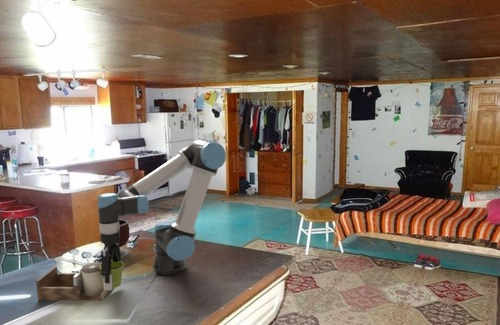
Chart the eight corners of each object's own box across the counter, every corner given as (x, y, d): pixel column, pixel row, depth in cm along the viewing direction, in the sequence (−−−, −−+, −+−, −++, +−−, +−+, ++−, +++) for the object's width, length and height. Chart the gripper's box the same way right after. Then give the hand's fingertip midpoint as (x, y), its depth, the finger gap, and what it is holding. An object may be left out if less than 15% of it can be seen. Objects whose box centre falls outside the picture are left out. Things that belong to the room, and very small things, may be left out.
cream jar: (107, 287, 169) (105, 262, 168) (99, 296, 161) (98, 270, 160) (88, 286, 170) (86, 262, 168) (79, 296, 162) (77, 270, 160)
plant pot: (117, 291, 159) (116, 271, 157) (95, 289, 160) (95, 269, 159) (128, 281, 168) (128, 262, 167) (108, 279, 170) (107, 260, 168)
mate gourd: (135, 251, 213) (133, 215, 210) (119, 260, 200) (117, 222, 197) (111, 248, 218) (109, 212, 215) (94, 257, 205) (91, 219, 202)
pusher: (90, 285, 171) (88, 263, 169) (77, 297, 159) (75, 274, 158) (81, 284, 171) (80, 263, 169) (68, 297, 160) (66, 274, 158)
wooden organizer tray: (115, 286, 172) (114, 267, 170) (102, 302, 158) (100, 281, 157) (56, 286, 173) (54, 266, 172) (38, 302, 159) (36, 280, 158)
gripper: (110, 223, 171) (113, 273, 175) (89, 240, 150) (93, 297, 154) (127, 224, 171) (130, 274, 174) (108, 240, 150) (112, 297, 154)
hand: (112, 284), depth 164 cm, fingers closed on plant pot, 8 cm apart
